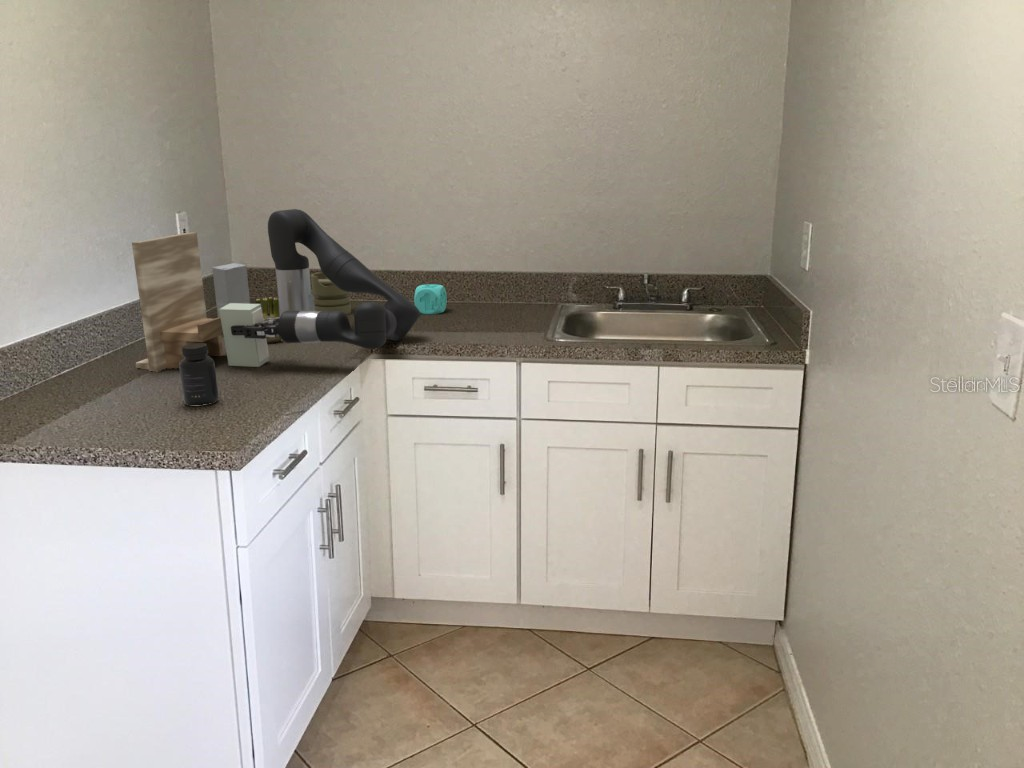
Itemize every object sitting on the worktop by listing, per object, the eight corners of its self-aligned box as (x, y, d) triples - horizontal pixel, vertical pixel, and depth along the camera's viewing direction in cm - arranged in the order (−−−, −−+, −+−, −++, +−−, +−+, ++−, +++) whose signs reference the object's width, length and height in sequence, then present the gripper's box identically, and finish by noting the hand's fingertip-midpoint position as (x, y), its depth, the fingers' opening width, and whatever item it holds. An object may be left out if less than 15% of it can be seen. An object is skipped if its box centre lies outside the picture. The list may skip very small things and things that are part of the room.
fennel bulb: (257, 343, 225) (252, 298, 222) (268, 339, 229) (264, 295, 226) (276, 344, 223) (271, 299, 220) (286, 340, 227) (282, 296, 224)
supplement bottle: (189, 398, 177) (182, 342, 173) (222, 396, 177) (216, 340, 174) (179, 408, 170) (172, 350, 167) (214, 406, 171) (207, 348, 167)
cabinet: (270, 359, 205) (261, 303, 200) (260, 367, 200) (251, 310, 195) (239, 358, 207) (230, 303, 202) (228, 365, 202) (219, 309, 197)
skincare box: (238, 312, 266) (233, 262, 262) (253, 315, 262) (248, 264, 258) (215, 317, 260) (209, 265, 255) (230, 320, 256) (224, 267, 251)
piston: (315, 271, 267) (351, 271, 266) (319, 309, 270) (354, 308, 270) (307, 277, 256) (344, 276, 256) (310, 316, 259) (347, 316, 259)
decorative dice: (414, 314, 260) (413, 288, 258) (423, 309, 268) (421, 284, 265) (439, 314, 258) (438, 288, 256) (447, 309, 266) (446, 284, 264)
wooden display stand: (249, 351, 215) (236, 232, 207) (199, 374, 195) (183, 243, 187) (186, 349, 220) (171, 232, 211) (131, 370, 199) (112, 242, 191)
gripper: (291, 349, 191) (224, 350, 195) (319, 335, 205) (256, 336, 208) (287, 317, 189) (219, 318, 193) (315, 305, 203) (251, 306, 206)
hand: (238, 327), depth 201 cm, fingers closed on cabinet, 5 cm apart
